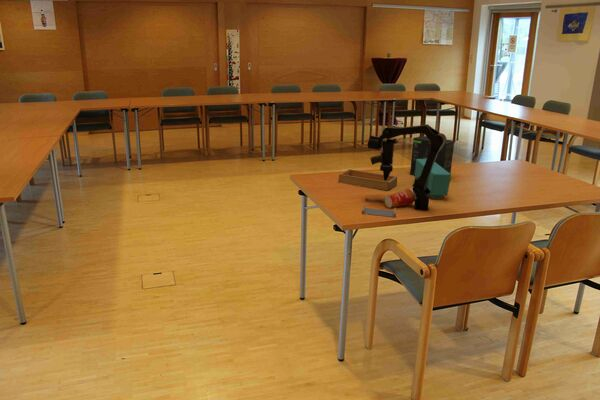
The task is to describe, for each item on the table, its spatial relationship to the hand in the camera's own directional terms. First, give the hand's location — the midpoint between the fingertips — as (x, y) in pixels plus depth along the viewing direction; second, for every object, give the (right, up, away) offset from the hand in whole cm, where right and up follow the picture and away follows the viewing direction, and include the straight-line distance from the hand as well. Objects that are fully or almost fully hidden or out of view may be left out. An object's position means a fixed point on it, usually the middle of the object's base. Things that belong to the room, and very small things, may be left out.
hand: (385, 180), depth 270 cm
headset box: (+37, +4, +55) cm, 67 cm away
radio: (+30, -6, +25) cm, 39 cm away
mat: (-5, -17, -14) cm, 23 cm away
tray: (-5, -1, +35) cm, 35 cm away
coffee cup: (0, -11, -8) cm, 14 cm away
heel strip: (-2, -12, +1) cm, 12 cm away
